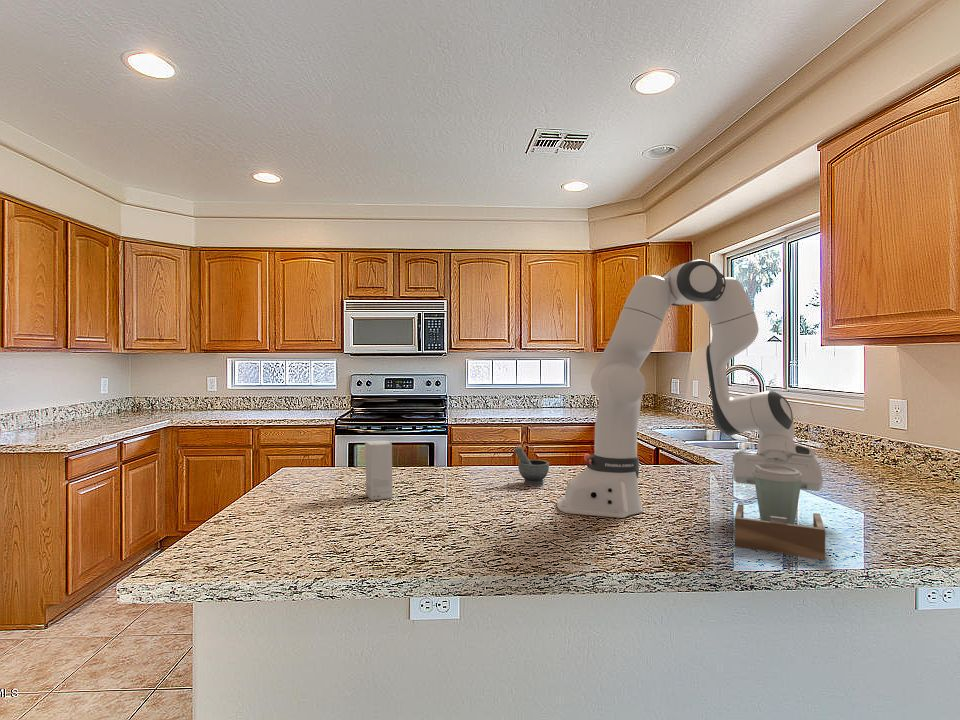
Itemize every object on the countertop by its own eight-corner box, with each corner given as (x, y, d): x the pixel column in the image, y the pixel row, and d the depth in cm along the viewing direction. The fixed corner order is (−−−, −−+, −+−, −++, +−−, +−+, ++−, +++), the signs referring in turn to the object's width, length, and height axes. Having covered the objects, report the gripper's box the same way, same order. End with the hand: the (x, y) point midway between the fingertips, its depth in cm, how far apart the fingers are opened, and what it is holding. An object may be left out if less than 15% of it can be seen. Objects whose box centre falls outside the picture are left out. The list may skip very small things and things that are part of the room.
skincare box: (392, 498, 154) (393, 443, 154) (369, 501, 152) (369, 444, 152) (386, 492, 162) (387, 439, 162) (364, 494, 159) (364, 440, 159)
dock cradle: (737, 529, 128) (737, 498, 128) (819, 540, 121) (819, 508, 121) (734, 546, 117) (734, 512, 117) (824, 559, 109) (825, 524, 109)
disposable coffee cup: (809, 530, 128) (809, 466, 128) (794, 541, 121) (795, 473, 121) (761, 520, 136) (761, 460, 136) (744, 530, 128) (745, 466, 128)
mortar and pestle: (546, 480, 179) (546, 444, 179) (551, 487, 169) (551, 448, 169) (512, 480, 178) (512, 444, 178) (515, 487, 169) (515, 448, 169)
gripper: (732, 443, 147) (729, 487, 139) (821, 450, 138) (824, 497, 129) (733, 457, 151) (730, 500, 143) (819, 465, 142) (822, 511, 133)
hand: (776, 499), depth 136 cm, fingers closed
